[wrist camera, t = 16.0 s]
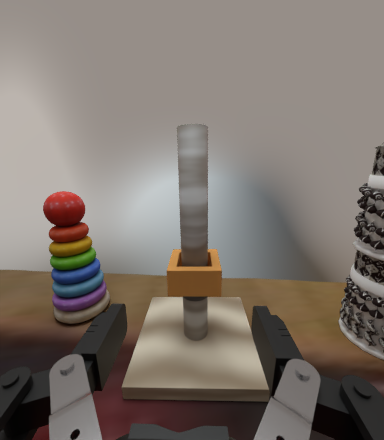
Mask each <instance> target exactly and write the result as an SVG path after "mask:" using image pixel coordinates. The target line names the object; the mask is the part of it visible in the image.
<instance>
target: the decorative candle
mask: <svg viewBox="0 0 384 440" xmlns="http://www.w3.org/2000/svg"><path fill="white" fill-rule="evenodd" d="M376 148H377V151H376V157H375V160H374V166H373V171H372V175H369V181H368V183H366V184H364V185H363V186H362V187H360V188H359V191H360V192H362V194H363V195H364V196H363V197H361V199H359V200H358V201H357V203H358V204H359V207H360V208H362V209H364V210H366V211H363V212H360V213H359V215H358V216H356V218H355V219H356V220H357V221H358V225H357V227H356V228H354V231H355V235H356V236H357V237H359V238H358V239H357V240H356V241H355V242H354V243H353V245H354V246H355V248H356V249H357V252H356V257H355V263H354V264H353V265H352V268H351V273H350V275H349V277H347V278H346V281H347V287H346V288H345V289H344V291H345V292H346V293H345V297H344V298H343V299H342V301H341V303H342V308H341V309H340V316H341V317H340V319H339V326H340V329H341V331H342V332H343V333H344V335H345V336H346V337H347V338H348V339H349V340H350V341H351V342H352V343H354V344H355V345H356V346H358V347H359V348H360V349H362V350H363V351H365V352H367V353H369V354H371V355H373V356H375V357H377V358H379V359H381V360H384V143H383V144H382V145H380V146H378V147H376Z"/></svg>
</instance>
